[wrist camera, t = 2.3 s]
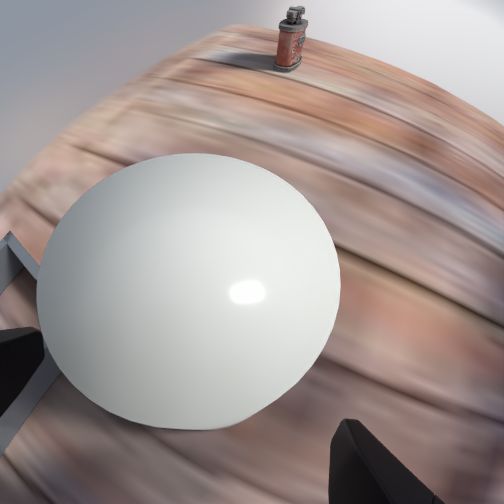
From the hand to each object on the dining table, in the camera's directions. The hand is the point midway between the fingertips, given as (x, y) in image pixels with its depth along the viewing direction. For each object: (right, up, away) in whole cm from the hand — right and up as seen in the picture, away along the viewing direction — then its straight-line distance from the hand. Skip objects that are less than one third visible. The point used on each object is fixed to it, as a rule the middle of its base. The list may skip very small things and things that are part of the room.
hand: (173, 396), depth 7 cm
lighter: (+8, +32, +34) cm, 47 cm away
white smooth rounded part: (0, -3, +9) cm, 10 cm away
